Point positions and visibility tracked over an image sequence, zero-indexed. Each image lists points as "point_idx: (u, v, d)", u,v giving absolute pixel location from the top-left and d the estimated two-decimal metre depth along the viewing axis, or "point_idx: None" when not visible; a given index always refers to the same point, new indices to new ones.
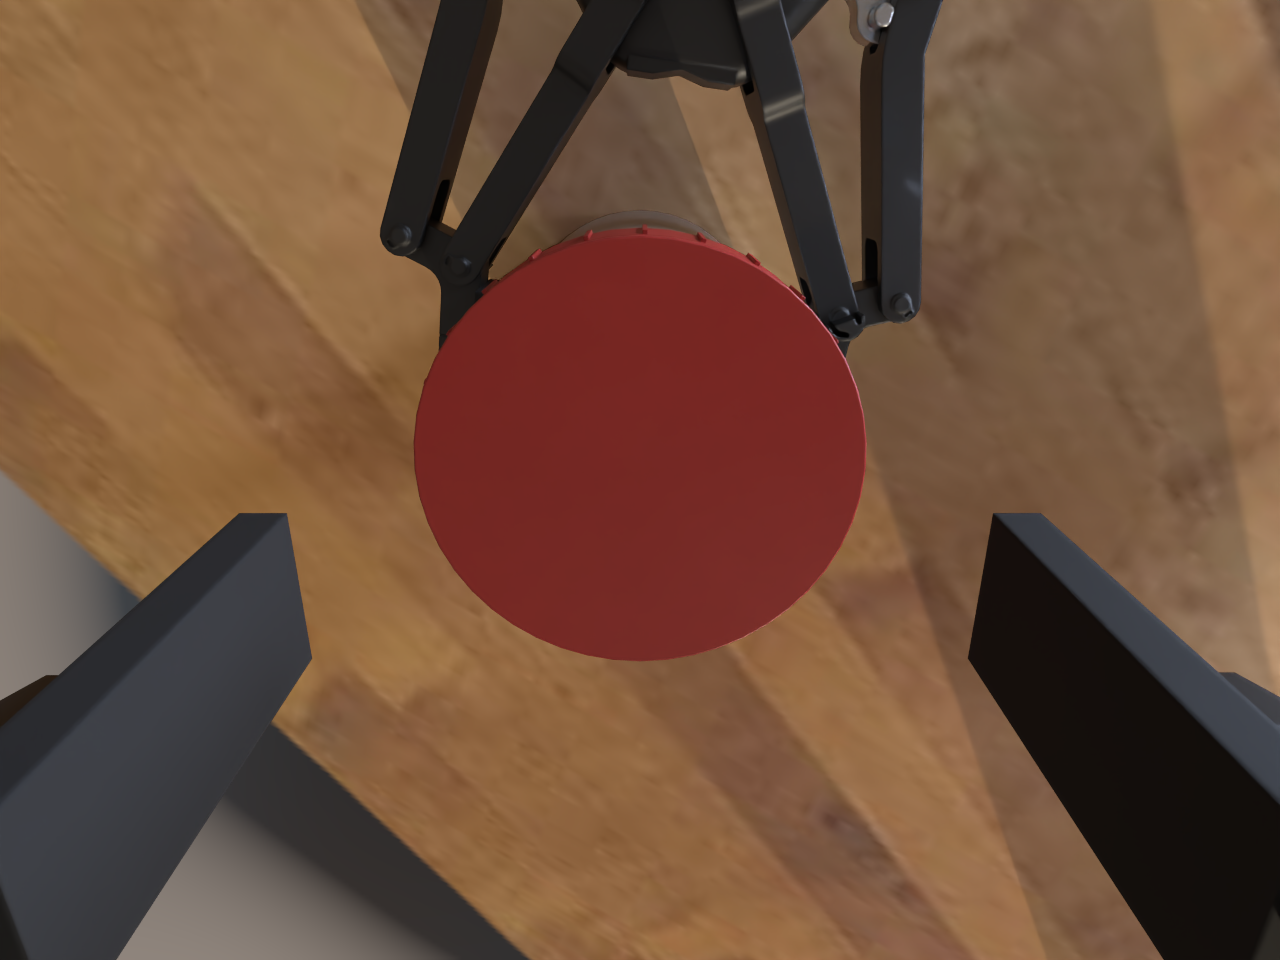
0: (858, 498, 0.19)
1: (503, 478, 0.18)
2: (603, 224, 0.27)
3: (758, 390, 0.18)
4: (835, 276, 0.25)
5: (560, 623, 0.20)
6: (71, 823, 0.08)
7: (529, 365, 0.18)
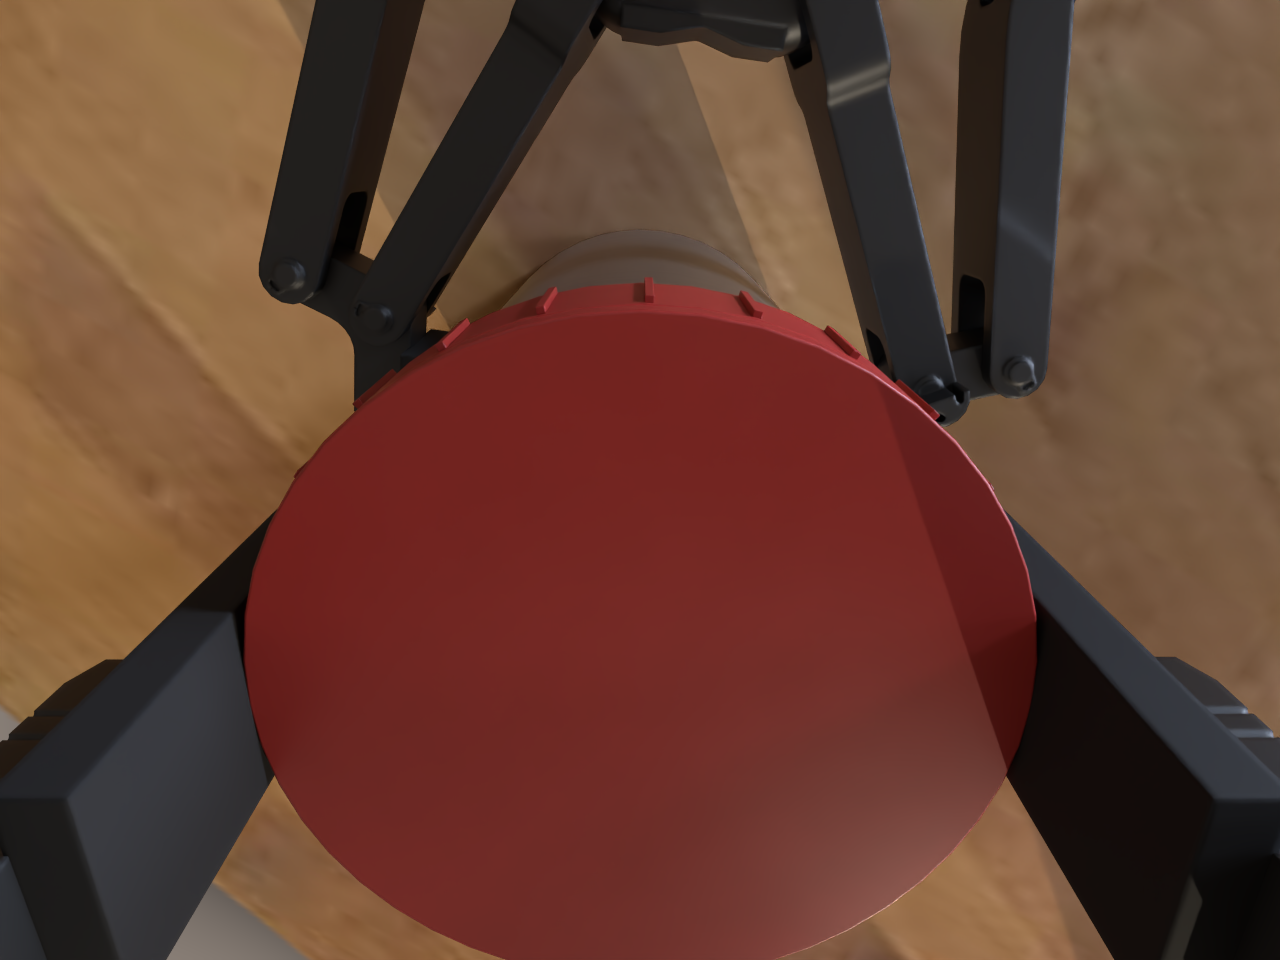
0: (1016, 747, 0.11)
1: (403, 716, 0.11)
2: (589, 253, 0.19)
3: (852, 577, 0.10)
4: (925, 332, 0.17)
5: (508, 928, 0.12)
6: (145, 798, 0.08)
7: (440, 536, 0.10)
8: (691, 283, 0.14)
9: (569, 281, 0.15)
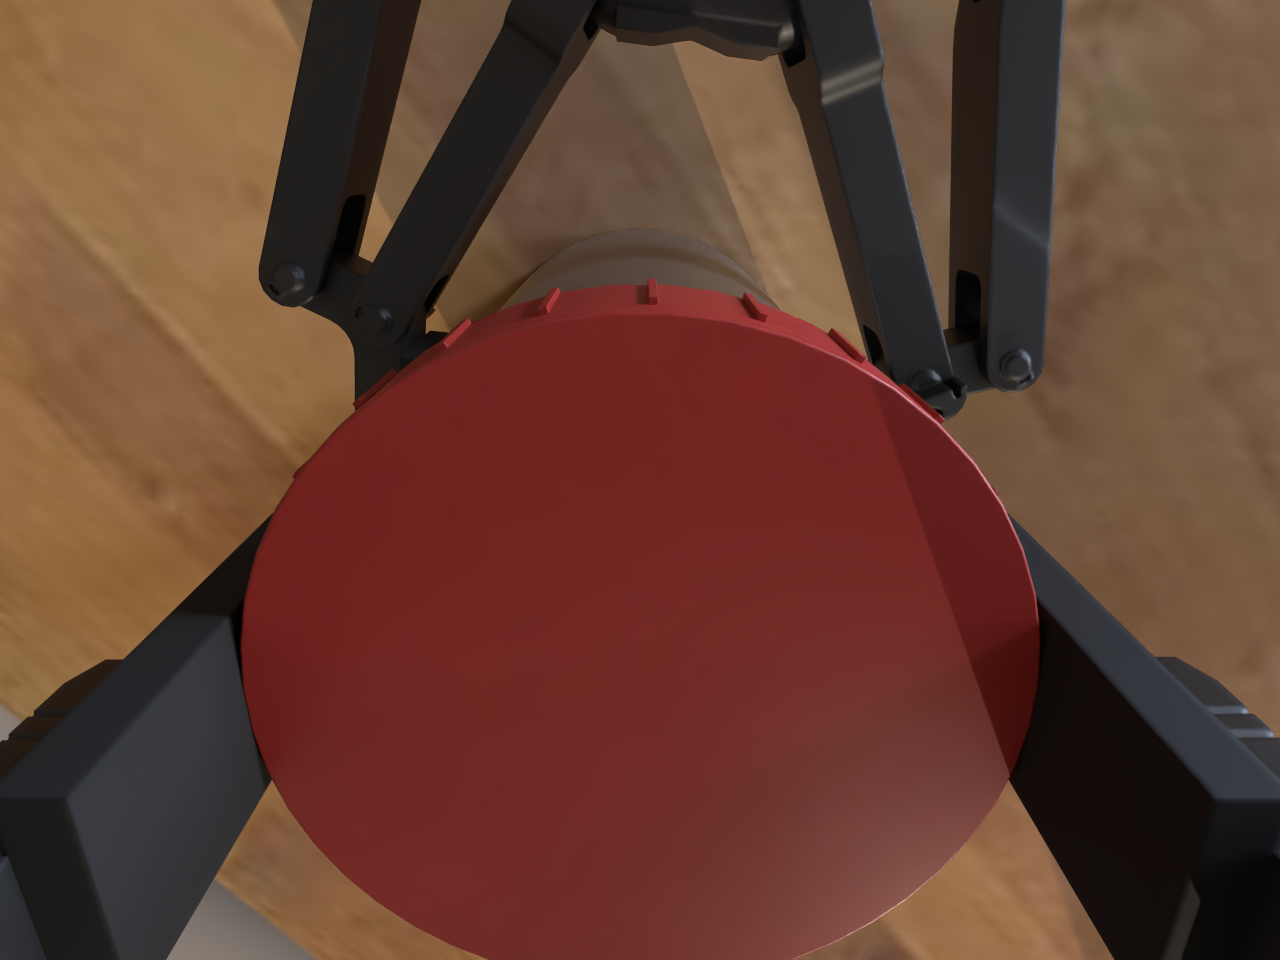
0: (434, 363, 0.09)
1: (775, 853, 0.11)
2: (586, 253, 0.19)
3: (399, 637, 0.10)
4: (921, 328, 0.17)
5: (988, 667, 0.10)
6: (144, 797, 0.08)
7: (593, 899, 0.12)
8: (687, 281, 0.14)
9: (566, 281, 0.15)
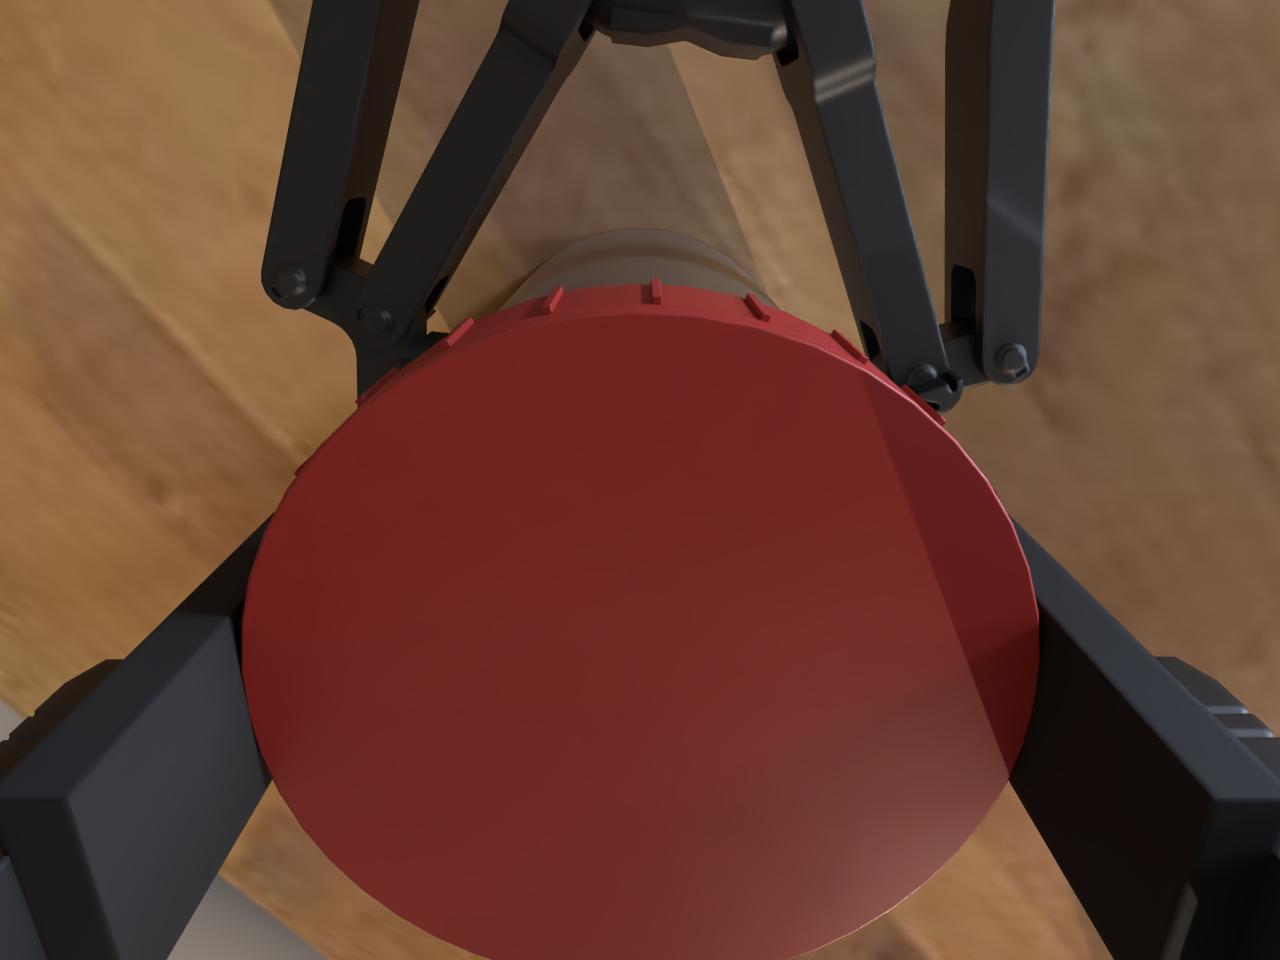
0: (473, 951, 0.12)
1: (723, 497, 0.09)
2: (584, 253, 0.20)
3: (695, 886, 0.12)
4: (917, 322, 0.17)
5: (378, 471, 0.09)
6: (145, 798, 0.08)
7: (894, 620, 0.10)
8: (684, 279, 0.15)
9: (565, 280, 0.16)
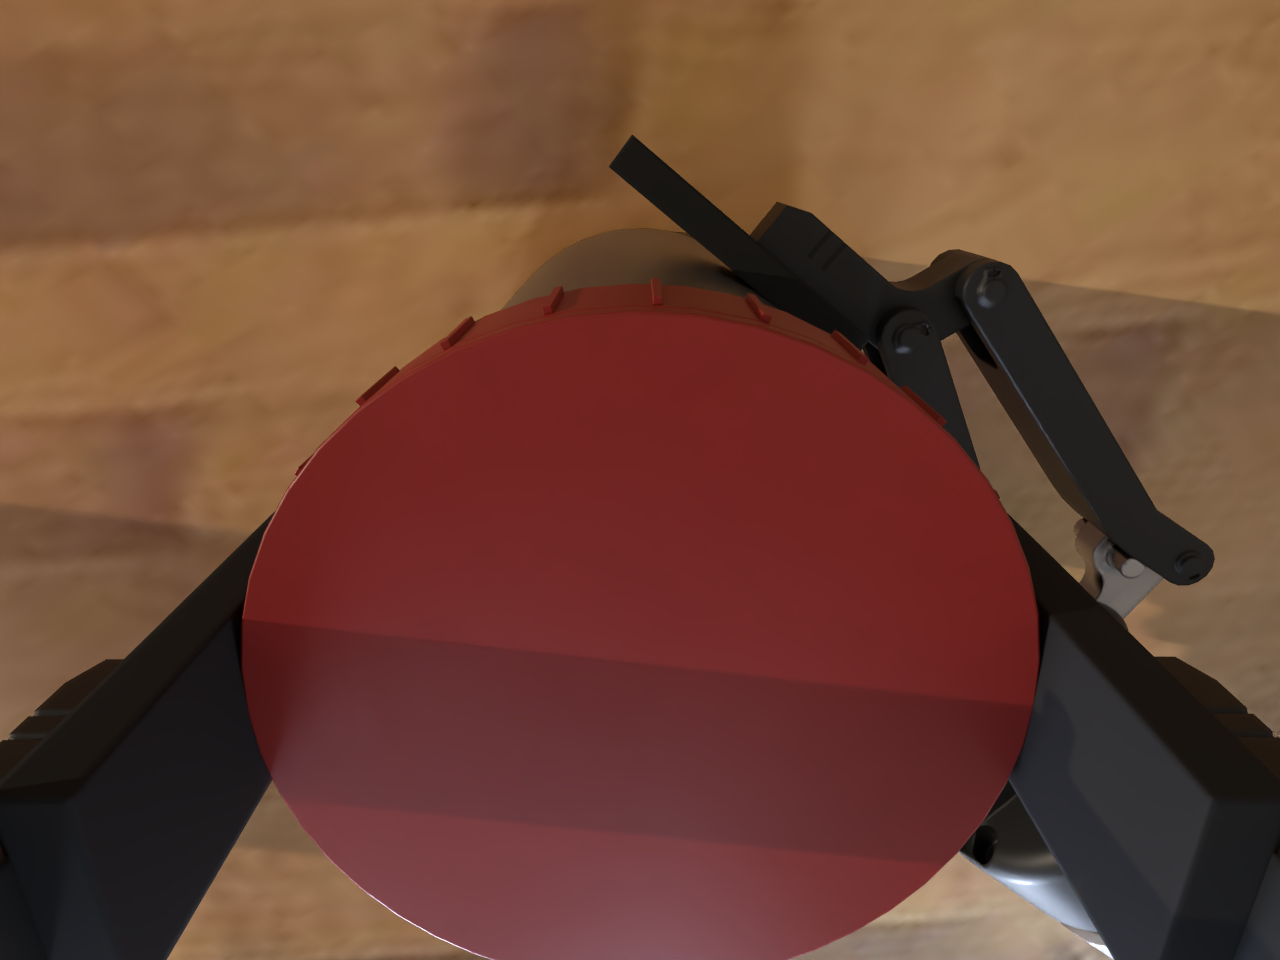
0: (472, 951, 0.12)
1: (724, 498, 0.09)
2: None
3: (695, 886, 0.12)
4: None
5: (378, 471, 0.09)
6: (146, 798, 0.08)
7: (894, 620, 0.10)
8: None
9: None
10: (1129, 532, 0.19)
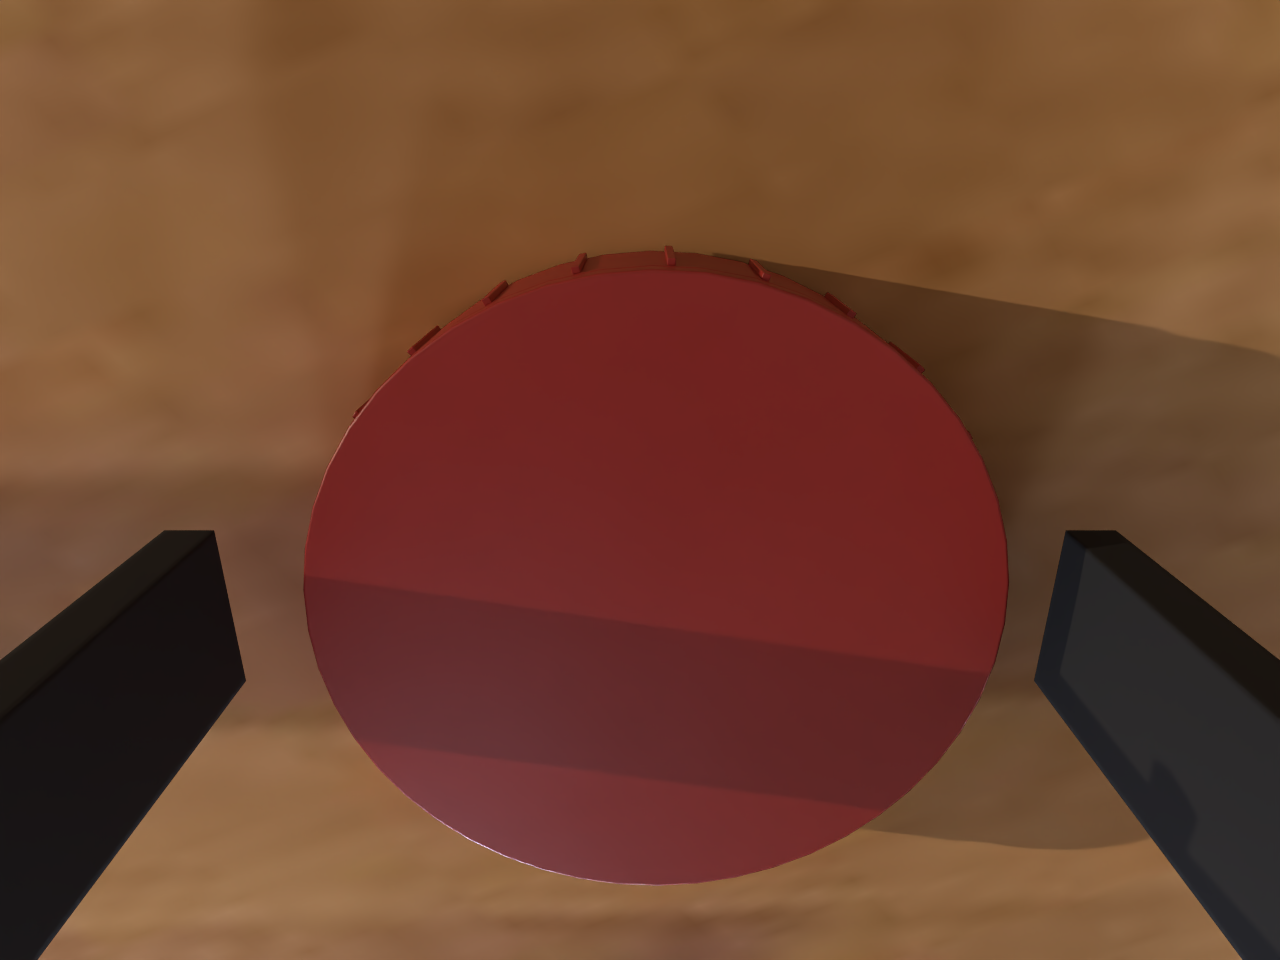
0: (503, 854, 0.14)
1: (729, 435, 0.11)
2: None
3: (703, 793, 0.13)
4: None
5: (428, 411, 0.11)
6: None
7: (879, 546, 0.11)
8: None
9: None
10: None
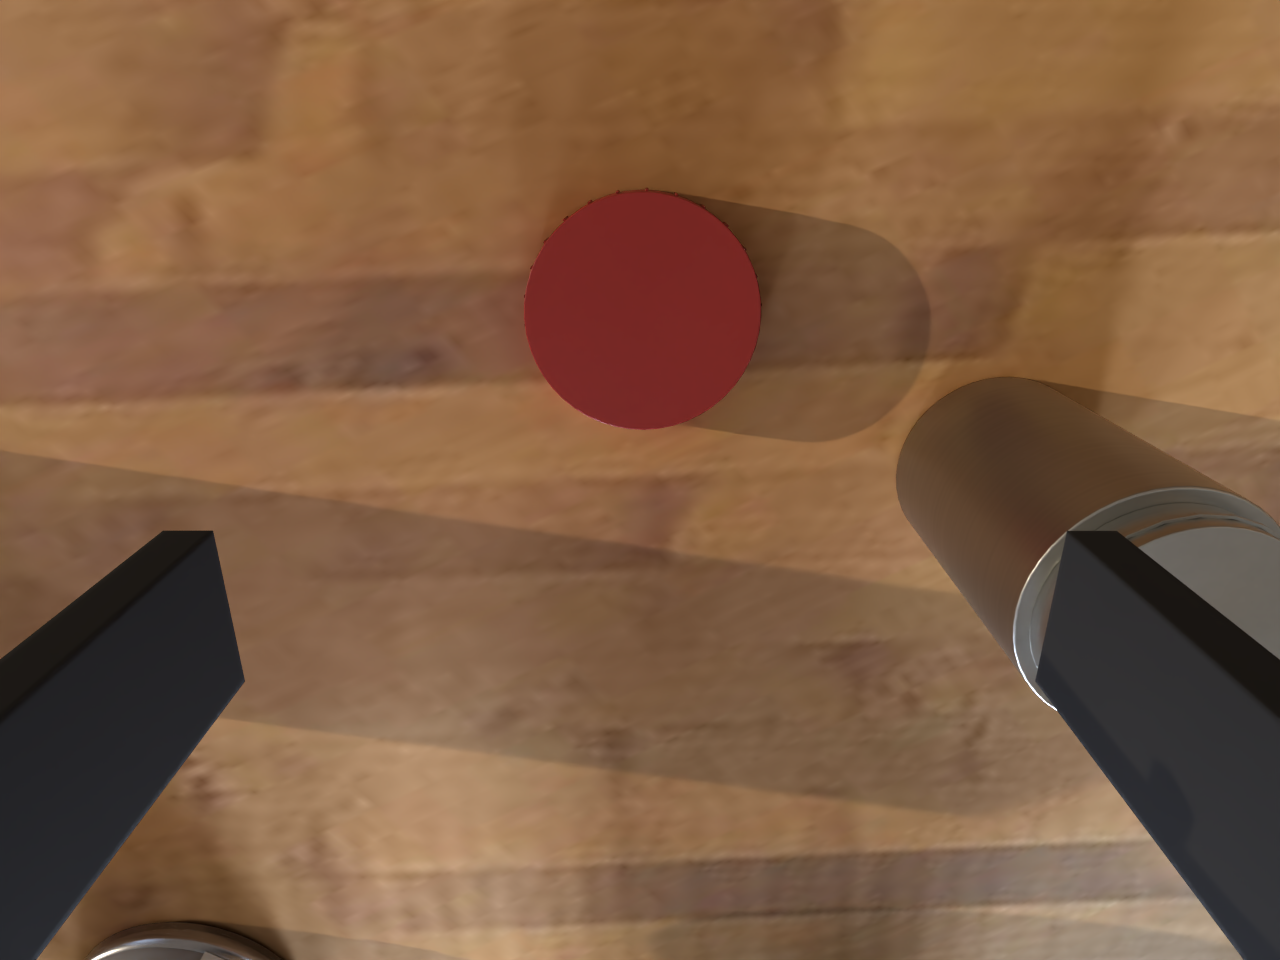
0: (587, 415, 0.37)
1: (665, 246, 0.34)
2: None
3: (660, 386, 0.36)
4: None
5: (570, 238, 0.34)
6: None
7: (716, 286, 0.35)
8: None
9: None
10: None
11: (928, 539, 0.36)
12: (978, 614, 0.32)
